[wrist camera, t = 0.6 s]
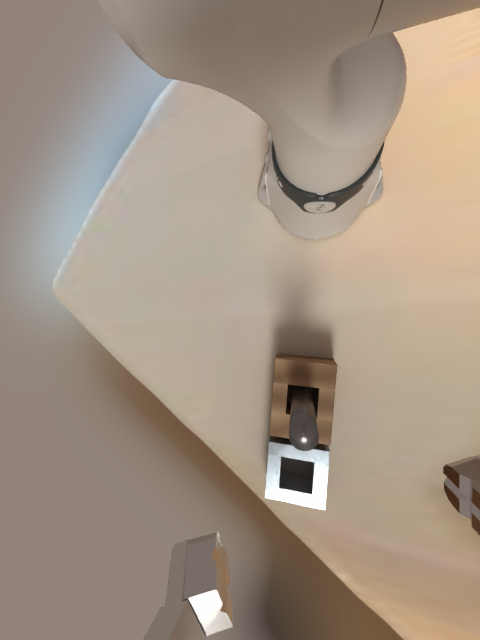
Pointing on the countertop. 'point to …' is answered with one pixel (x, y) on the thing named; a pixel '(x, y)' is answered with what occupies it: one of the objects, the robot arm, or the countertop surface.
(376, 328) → the countertop surface
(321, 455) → the socket block
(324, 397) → the wooden square hole block
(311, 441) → the steel axle
